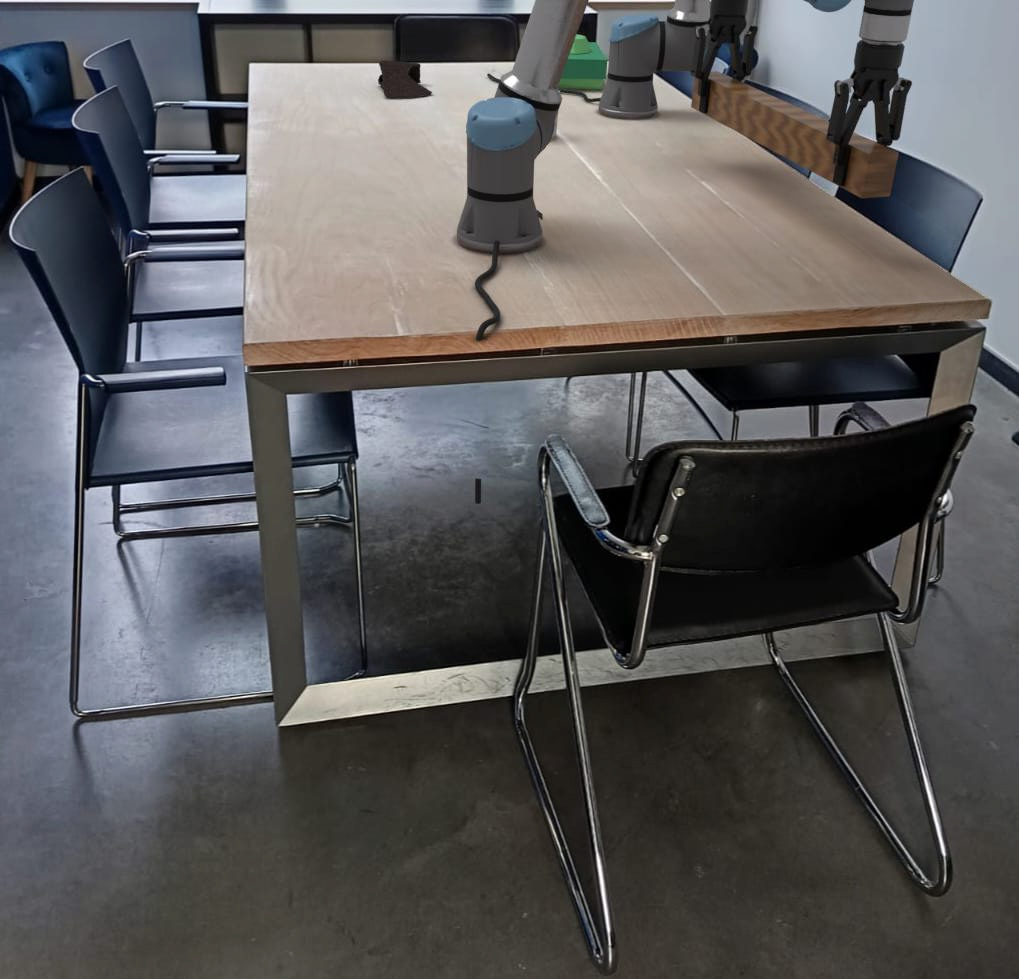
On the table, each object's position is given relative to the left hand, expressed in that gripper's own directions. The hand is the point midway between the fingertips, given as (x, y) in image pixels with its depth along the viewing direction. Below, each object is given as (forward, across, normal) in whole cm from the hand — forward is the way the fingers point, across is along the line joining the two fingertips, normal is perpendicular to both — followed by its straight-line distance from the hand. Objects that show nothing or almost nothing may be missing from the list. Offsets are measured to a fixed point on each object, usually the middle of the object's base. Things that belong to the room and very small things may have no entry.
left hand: (854, 182), depth 190 cm
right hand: (0, 0, -54) cm, 55 cm away
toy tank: (+12, -2, -150) cm, 151 cm away
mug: (+12, +29, -87) cm, 93 cm away
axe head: (+13, +49, -144) cm, 152 cm away
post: (+1, 0, -27) cm, 27 cm away
